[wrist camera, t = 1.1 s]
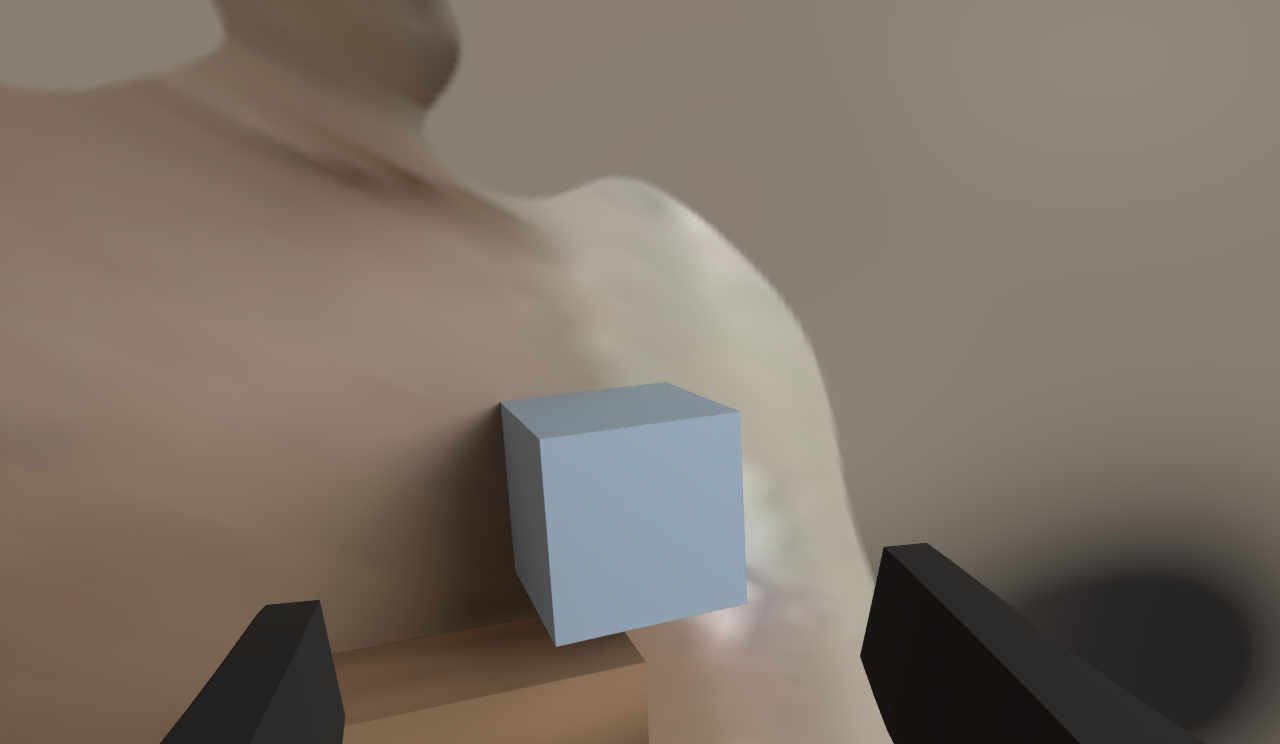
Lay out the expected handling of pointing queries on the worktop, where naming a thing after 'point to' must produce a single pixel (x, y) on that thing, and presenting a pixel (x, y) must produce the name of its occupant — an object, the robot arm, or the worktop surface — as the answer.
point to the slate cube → (625, 507)
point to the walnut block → (495, 689)
